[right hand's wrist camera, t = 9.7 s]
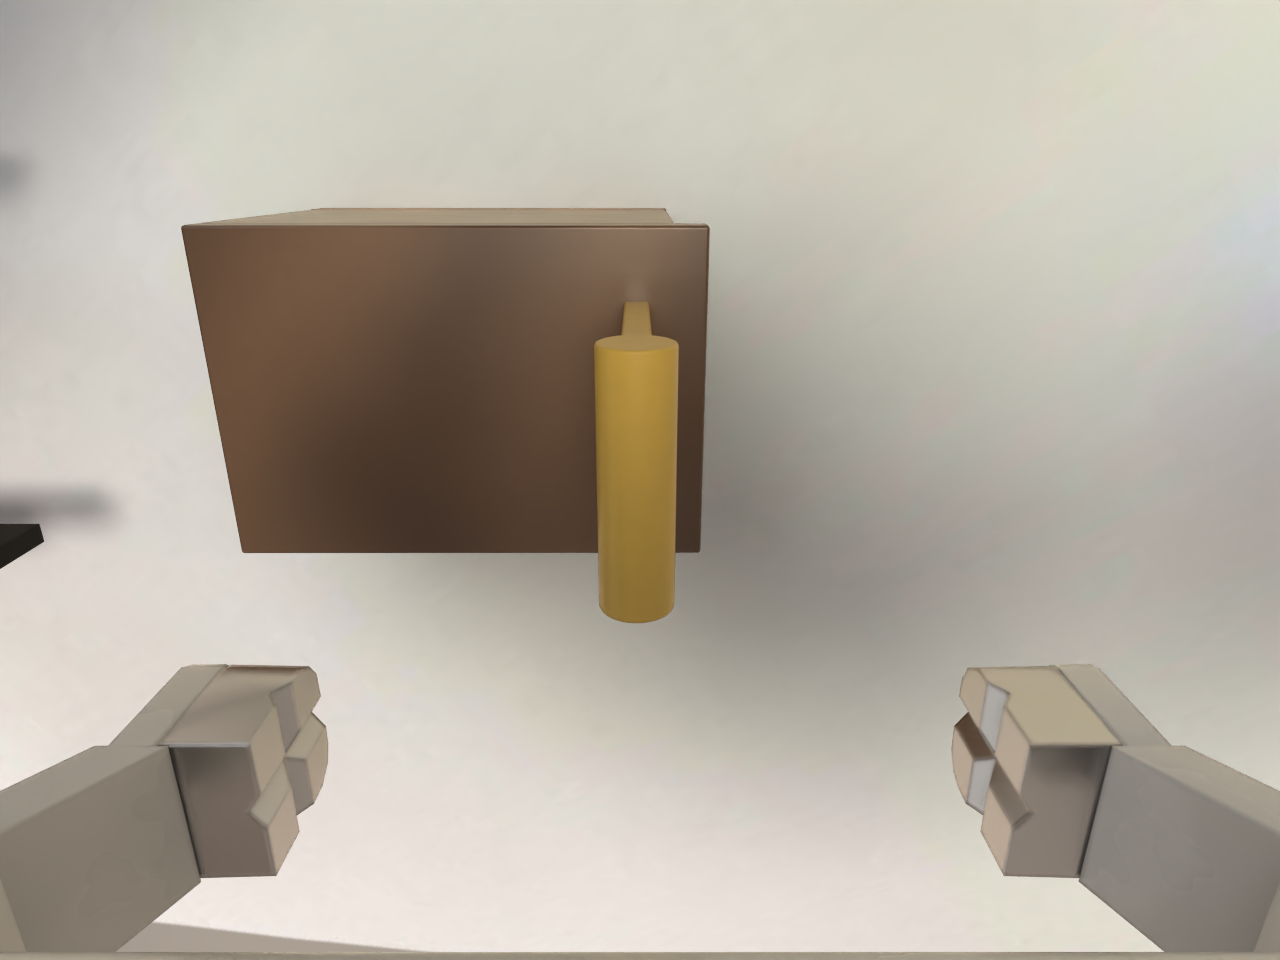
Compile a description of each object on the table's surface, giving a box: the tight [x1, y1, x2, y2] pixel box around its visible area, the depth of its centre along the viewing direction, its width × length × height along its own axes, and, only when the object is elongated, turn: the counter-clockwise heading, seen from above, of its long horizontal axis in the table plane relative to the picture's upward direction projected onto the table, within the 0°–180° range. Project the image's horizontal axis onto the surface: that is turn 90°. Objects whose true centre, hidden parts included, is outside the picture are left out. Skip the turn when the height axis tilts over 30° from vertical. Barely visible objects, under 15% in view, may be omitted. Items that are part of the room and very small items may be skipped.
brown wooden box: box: [206, 208, 674, 224], centre depth 30 cm, size 14×10×10 cm
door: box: [181, 223, 710, 623], centre depth 21 cm, size 15×10×9 cm
